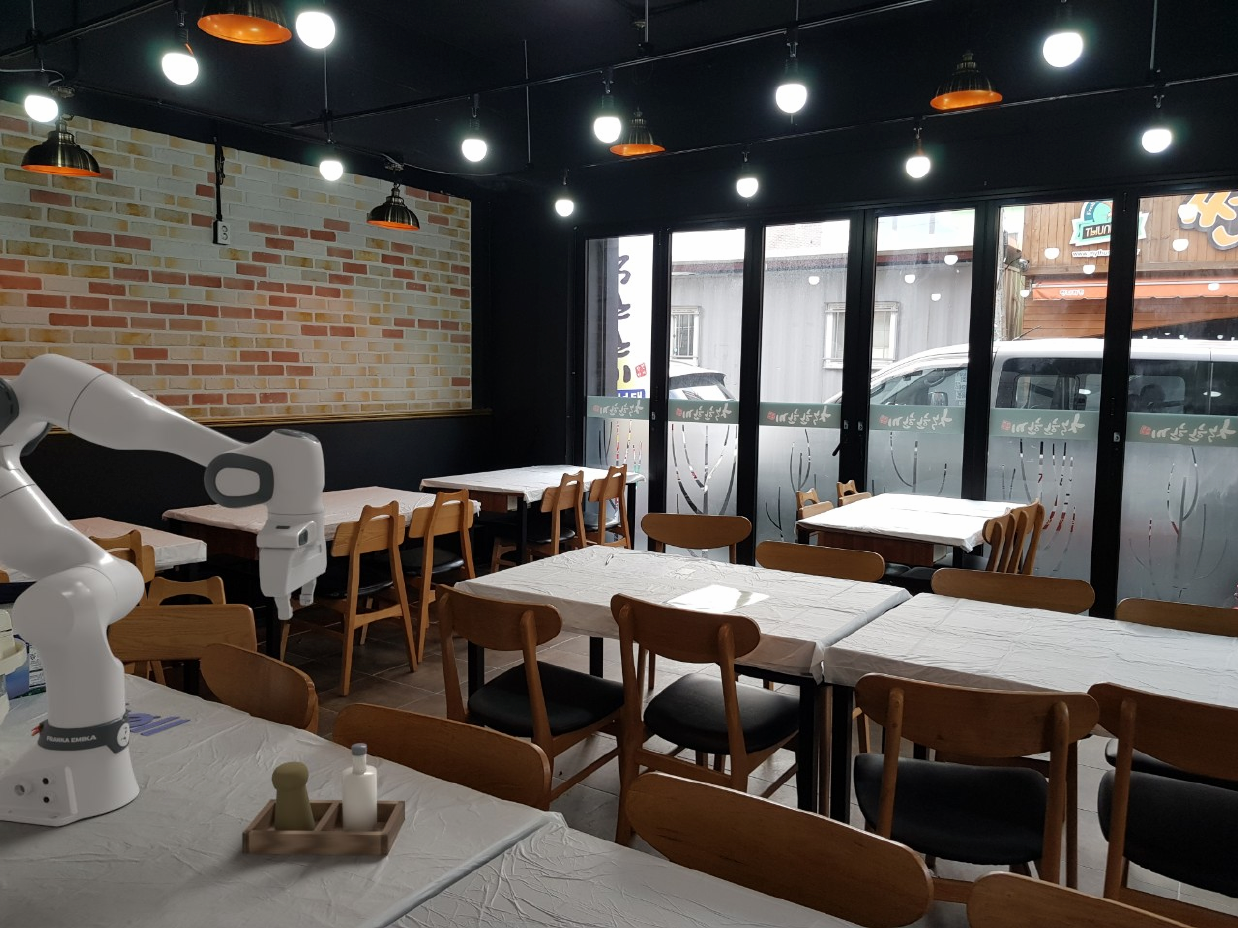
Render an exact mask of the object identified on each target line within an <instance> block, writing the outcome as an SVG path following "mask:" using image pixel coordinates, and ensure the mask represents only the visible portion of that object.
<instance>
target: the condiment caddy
mask: <svg viewBox="0 0 1238 928" xmlns="http://www.w3.org/2000/svg"><path fill="white" fill-rule="evenodd" d="M309 801H310V806H311V810H312V814H313V819H314V823H315V827H316V828H315V830H314V831H276V830H274V829H275V811H276V799H274V798H273V799H272V798H271V799H269V800H268V802H267V803H266V804H265V806H264V807H263V808H262V809H261V810H260V812H258V814H257V815H256V816H255V817H254V819H253V820H252V821H251V822H250V823H249V825H248V826H247V827H246V828H245V830H244V831H243V832H242V833H241V839H242V840H241V841H242V842H241V843H242V846H241V847H242V854H243V855H248V854H249V855H316V856H317V855H319V856H321V855H322V856H324V855H325V856H326V855H327V856H329V855H331V856H334V855H335V856H344V855H345V856H388V855H389V853H390V852H391V849H392V847H393V845H394V843H395V841H396V839H397V837H398V835H399V832H400V830H401V829H402V826H403V824H404V822H405V820H406V801H405V800H377V832H364V831H343V807H342V799H309Z"/></svg>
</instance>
